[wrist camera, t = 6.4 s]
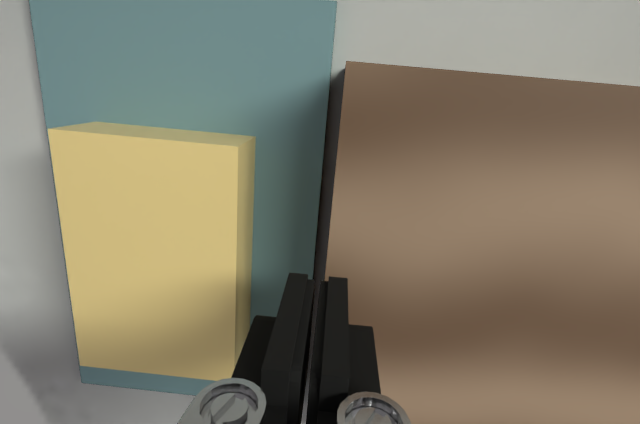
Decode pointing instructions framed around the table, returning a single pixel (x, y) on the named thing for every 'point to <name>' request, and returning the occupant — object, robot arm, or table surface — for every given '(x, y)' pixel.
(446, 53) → the table surface
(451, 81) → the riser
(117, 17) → the mat
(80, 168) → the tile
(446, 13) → the table surface
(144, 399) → the table surface
